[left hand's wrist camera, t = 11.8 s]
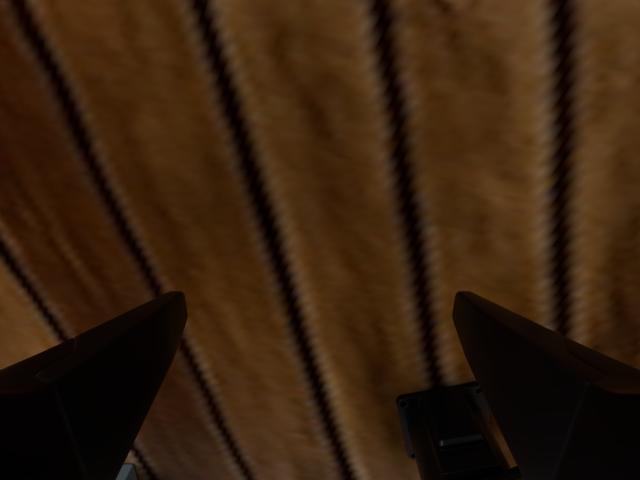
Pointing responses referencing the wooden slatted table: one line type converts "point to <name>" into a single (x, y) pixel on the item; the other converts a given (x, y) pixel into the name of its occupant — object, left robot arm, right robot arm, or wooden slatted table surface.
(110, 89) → the wooden slatted table surface
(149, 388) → the left robot arm
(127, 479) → the brick
